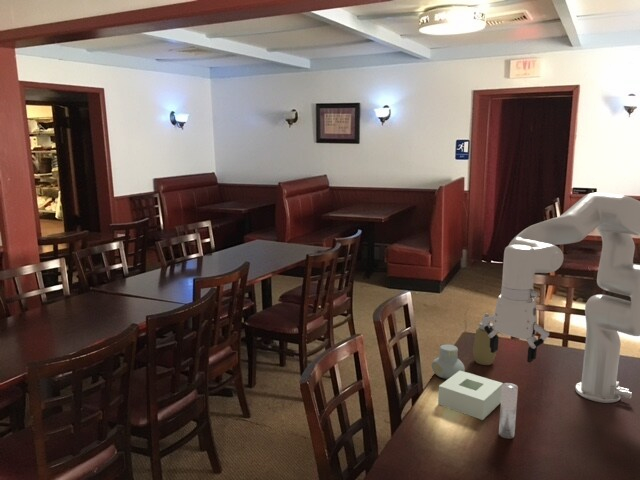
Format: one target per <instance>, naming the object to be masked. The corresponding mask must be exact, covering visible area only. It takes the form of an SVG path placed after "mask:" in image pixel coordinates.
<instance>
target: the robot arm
mask: <svg viewBox="0 0 640 480" xmlns="http://www.w3.org/2000/svg"><path fill="white" fill-rule="evenodd" d="M595 229H597V230H598V232H599V235H600V237H601V241H602V246H601V247H602V248H601V251H600V252H601V253H600V257H599V265H598V269H597V275H596V276H597V277H596V284H597V286H598V287H599V288H601V289H602V290H603V291H607V292H610V293H613V294H618V295H622V296H627V297H630V300H627V299H624V298H619V297H615V296H611V295H608V294H595V295H591V296H590V297H589V298H587V301H586V303H585V307H584V314H585V323H586V330H585V331H586V332H585V334H586V335H585V344H584V354H583V361H582V362H583V363H582V364H583V365H582V372H581V373H582V374H581V381H580V382H578V383H576V384H575V388H574V389H575V392H576V394H578V395H580V396H581V397H583V398H584V399H587V400H590V401H593V402H598V403H605V404H612V403H613V404H614V403H616V402H618V401H620V400H621V398H622V397H624V398H626V399H630V400H631V399H632V394H633V393H632V392H631V391H630V389H629V388H626V387H621V386H620V385H619V384H620V381H617V380H618V371H619V370H618V369H619V362H620V353H621V339H620V335H619V333H622V334H626V335H629V336H633V337H640V264H635V263H634V255H635V249H636V245H635V242H634V239H633V237H632V235H633V236H640V200H638V199H636V198H633V197H631V196H629V195H624V194H618V193H617V194H616V193H615V194H614V193H605V192H590V193H587V194H585V195H584V196H583V197H581V198H580V199H579V200H578V201H576V202H575V203H574V204H573V205H572V206H571V207H569V208H568V209H567V210H566V211H565V212H563V213H562V214H561V215H559V216H558V217H556V216H555V217H552V218H550V219H547V220H544V221H543V220H542V221H540V222H538V223H535V224H532V225H529V226H528V227H526V228H525V229H523V230H522V231H520V232H519V233H518V234H517V235H515V236H514V237H513V238H512V239H511V241H510V242H509V244H508V245H507V246H506V247H504V252H503V263H502V264H503V266H502V279H501V293H500V295H498V298H497V301H496V305H495V308H494V314H493V315H489V317H485V318H484V317H483V318H482V319H481V322H482V323H483V326H484V329H485V331H486V332H487V333H488V336H489V337H490V348H491V353H494V352H495V351H496V352H497V351H498V349H499V339H500V338H499V335H498V334H501V335H505V336H510V337H513V338H516V339H521V340H526V342H527V343H528V346H529V347H528V348H527V349H528V350H527V357H526V358H527V359H526V362H527V363H529V364H531V363H532V362H533V361H534V360H536V359H537V352H538V346H540V345H541V344H543V343H544V342H545V341H546V340H547V338H549V336H550V332H549V331H548V330H546V329H544V327H542V326H541V325H540V324H538V309H537V302H536V299H537V298H539V292H537V291H535V289H534V280H535V279H534V278H535V274H538V273H539V274H540V273H541V274H548V273H549V274H550V273H553V272H556V271H557V270H559V269H560V267H561V266H562V264H564V263H563V262H564V253H563V251H562V250H561V248H559V246H557V245H568V244H574V243H579V242H581V241H583V240H584V239H585V238H587V236H589V234H591V233H592V232H593V231H594V230H595ZM535 298H536V299H535ZM492 321H493V322H492ZM489 322H490V323H491V322H492V324H493V328H492V327H491V326H490V325H489ZM618 332H619V333H618ZM537 333H538V334H540V337H539V338H538V339H537V337H536V336H535V335H536V334H537Z"/></svg>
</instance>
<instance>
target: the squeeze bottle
mask: <svg viewBox="0 0 640 480" xmlns="http://www.w3.org/2000/svg"><path fill="white" fill-rule="evenodd" d="M489 316H490V314H489V313H487V312H485V313H484V316H483V318H485V317H489ZM489 325H490V326H491V327H492V328H493V322H491V321H490V322H489ZM472 347H473V348H472V354H473V358H474V361H475V363H477V364H479V365H482V366H491V365H492V364H493V363H494V361H495V358H496V356H497V351H495V352H494V353H491V348H490V337H489V336H488V333H487V332H486V331H485V329H484V326H483V323H482V321H481V322H479V325H478V328H476V330H475V336H474V341H473V346H472Z"/></svg>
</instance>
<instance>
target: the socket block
mask: <svg viewBox="0 0 640 480" xmlns="http://www.w3.org/2000/svg"><path fill="white" fill-rule="evenodd" d="M502 384H504V383H503V382H501V381H497V380H494V379H490V378H488V377H484V376H480V375H477V374H474V373H471V372H466V371H458V372H457V373H456V374H454V375H453V376H452V377H450V378H449V379H445V381H443V382H442V383H440V384H439V386H438V400H437V401H438V402H437V405H438V406H442V407H444V408H447V409H450V410H454V411H456V412H459V413H461V414H464V415H467V416H470V417H473V418H476V419H477V420H478V419H479V420H481V421H483V420H484V419H486V417H487V416H489V415H490V414H491V413H492V412H493V411H494V410H495V409H496V408H497V407H498V406H499V405H501V393H502Z"/></svg>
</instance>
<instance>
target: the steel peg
mask: <svg viewBox="0 0 640 480" xmlns="http://www.w3.org/2000/svg"><path fill="white" fill-rule="evenodd" d="M518 392H519V387H518V385H517V384H514V383H511V382H504V383H503V384H502V393H501V403H500V412H499V424H498V425H499V426H498V435H499V436H500V437H501V438H504V439H514V437H515V432H516V431H515V430H516V419H517V405H518V404H517V403H518Z"/></svg>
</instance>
